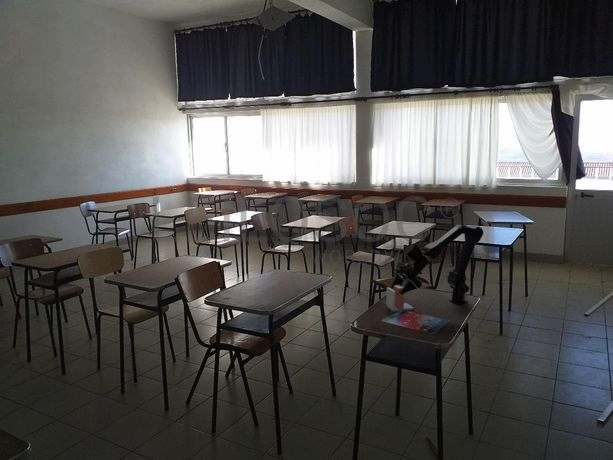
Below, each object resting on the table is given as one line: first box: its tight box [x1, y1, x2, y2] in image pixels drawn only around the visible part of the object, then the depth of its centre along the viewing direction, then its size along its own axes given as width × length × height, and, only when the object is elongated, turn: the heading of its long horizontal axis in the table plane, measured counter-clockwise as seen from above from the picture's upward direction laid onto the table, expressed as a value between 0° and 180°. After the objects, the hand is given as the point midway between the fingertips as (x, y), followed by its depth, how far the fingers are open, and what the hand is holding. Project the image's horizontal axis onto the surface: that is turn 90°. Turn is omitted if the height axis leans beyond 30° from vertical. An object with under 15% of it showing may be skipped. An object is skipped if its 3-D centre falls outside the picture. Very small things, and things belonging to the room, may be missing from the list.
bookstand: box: [385, 287, 415, 313], centre depth 229 cm, size 11×7×10 cm, turn 106°
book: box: [392, 284, 405, 309], centre depth 228 cm, size 3×5×10 cm, turn 17°
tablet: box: [380, 310, 450, 336], centre depth 213 cm, size 19×25×1 cm
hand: (396, 290), depth 227 cm, fingers open, 9 cm apart
